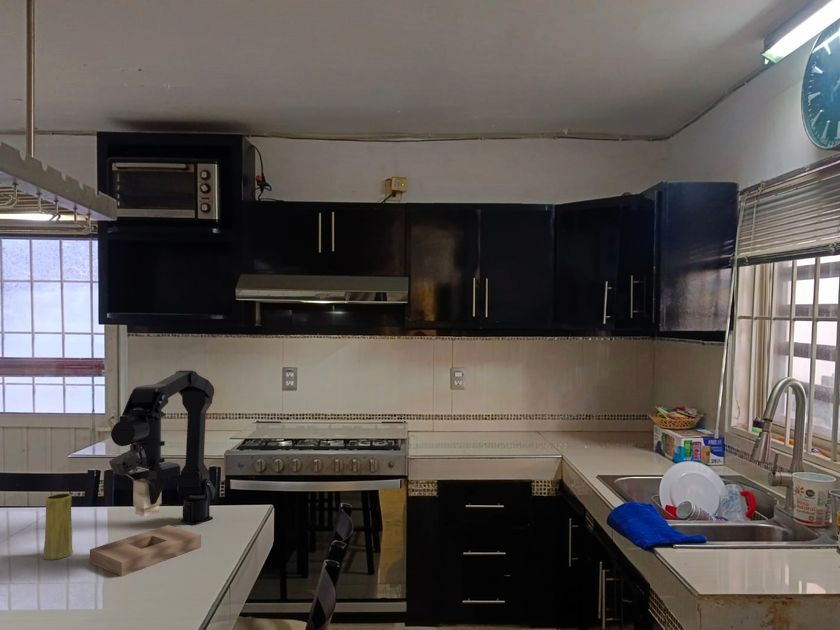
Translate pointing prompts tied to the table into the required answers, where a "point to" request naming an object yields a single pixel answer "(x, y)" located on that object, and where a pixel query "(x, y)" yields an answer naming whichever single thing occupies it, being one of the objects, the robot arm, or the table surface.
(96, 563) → the board
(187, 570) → the table surface
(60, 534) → the vase
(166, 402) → the robot arm
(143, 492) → the peg
